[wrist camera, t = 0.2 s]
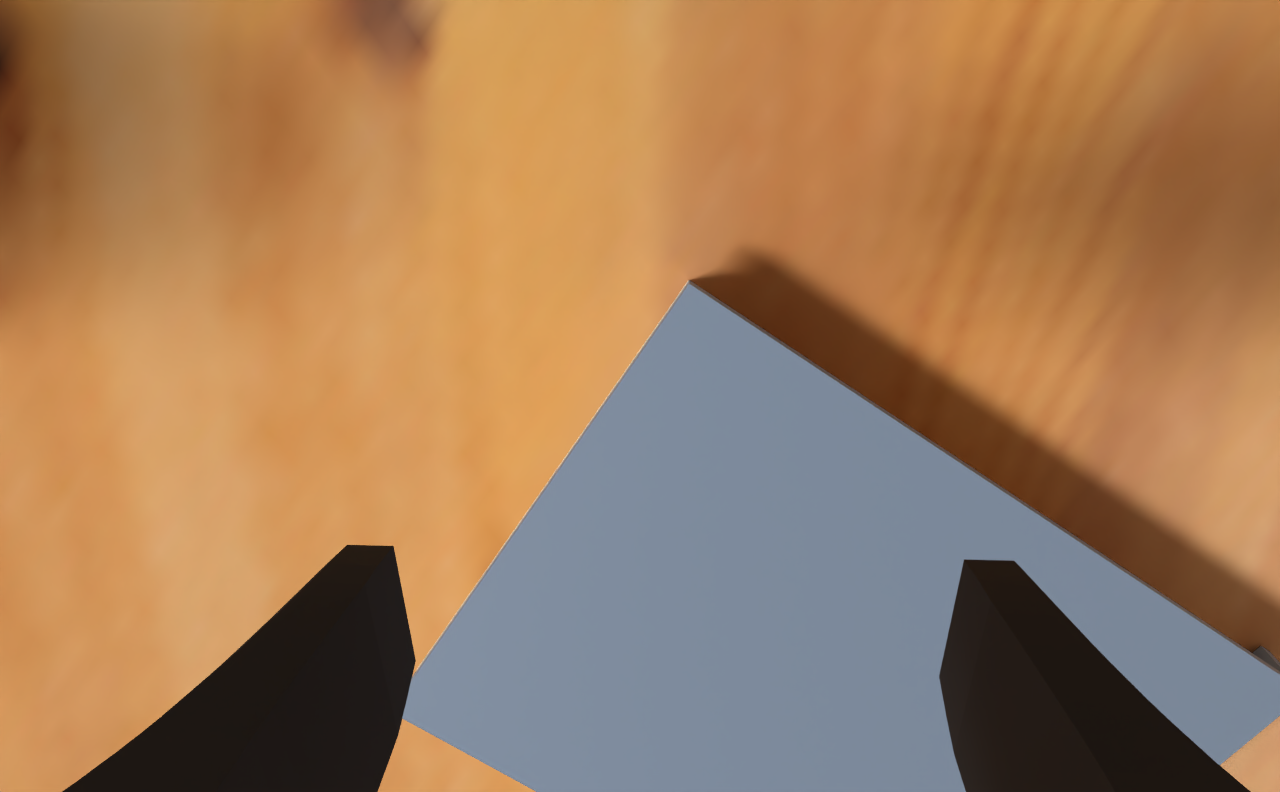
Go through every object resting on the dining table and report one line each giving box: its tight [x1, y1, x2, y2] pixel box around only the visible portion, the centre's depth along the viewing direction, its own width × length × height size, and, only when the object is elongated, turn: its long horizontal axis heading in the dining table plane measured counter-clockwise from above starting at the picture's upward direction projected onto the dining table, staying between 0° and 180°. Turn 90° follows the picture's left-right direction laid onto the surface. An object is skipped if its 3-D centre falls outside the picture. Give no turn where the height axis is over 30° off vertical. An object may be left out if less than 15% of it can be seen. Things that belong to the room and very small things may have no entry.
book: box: [402, 280, 1280, 792], centre depth 24 cm, size 14×18×2 cm
